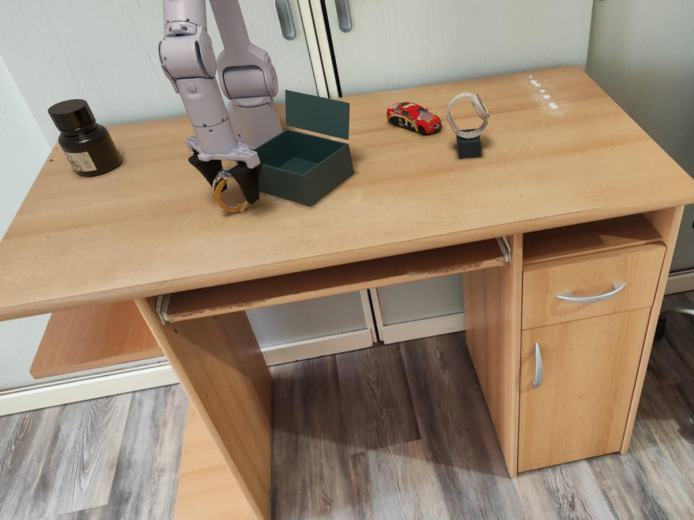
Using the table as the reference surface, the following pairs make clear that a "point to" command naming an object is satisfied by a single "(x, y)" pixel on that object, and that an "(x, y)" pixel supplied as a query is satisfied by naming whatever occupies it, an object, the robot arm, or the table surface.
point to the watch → (469, 137)
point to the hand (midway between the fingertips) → (237, 196)
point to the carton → (303, 166)
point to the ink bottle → (84, 138)
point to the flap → (317, 114)
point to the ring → (218, 188)
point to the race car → (413, 117)
